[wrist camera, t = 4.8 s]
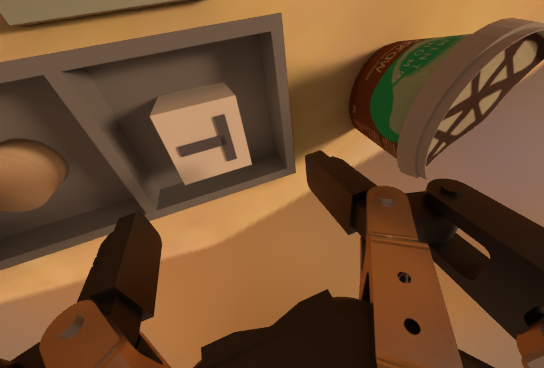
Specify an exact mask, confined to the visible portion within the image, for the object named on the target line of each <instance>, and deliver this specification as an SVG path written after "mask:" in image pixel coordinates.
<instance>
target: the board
mask: <svg viewBox="0 0 544 368" xmlns="http://www.w3.org/2000/svg"><path fill="white" fill-rule="evenodd" d="M183 1H189V0H0V13H1V15H2V16H3V17H4V19H5V20H6V21H7V23H8V24H9V25H10V26H26V25H33V24H39V23H46V22H52V21H59V20H65V19H72V18H78V17H85V16H91V15H98V14H105V13H111V12H118V11H124V10H131V9H137V8H144V7H150V6H157V5H163V4H170V3H176V2H183Z"/></svg>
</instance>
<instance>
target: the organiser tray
mask: <svg viewBox="0 0 544 368" xmlns="http://www.w3.org/2000/svg"><path fill="white" fill-rule="evenodd" d="M220 82H224V83H225V84H226V85H227V87H228V88H229V89H230V90H231V91H232V92H233V93H234V94H235V96H236V100H237V104H238V108H239V112H240V117H241V121H242V125H243V129H244V133H245V137H246V141H247V146H248V150H249V154H250V158H251V162H252V165H249V166H245V167H242V168H239V169H236V170H232V171H229V172H226V173H223V174H219V175H216V176H213V177H210V178H207V179H203V180H200V181H197V182H194V183H190V184H187V185H185V184H184V182H183V180H182V178H181V176H180V174H179V172H178V171H177V169H176V167H175V165H174V163H173V161H172V159H171V157H170V155H169V153H168V151H167V149H166V147H165V145H164V143H163V141H162V139H161V137H160V136H159V134H158V132H157V130H156V128H155V126H154V124H153V122H152V120H151V118H150V114H151V112H152V109H153V107H154V105H155V102H156V100H157V98H158V97H159V96H163V95H168V94H172V93H176V92H181V91H185V90H189V89H194V88H198V87H202V86H207V85H211V84H216V83H220ZM17 138H18V139H29V140H34V141H38V142H40V143H43V144H45V145H48V146H50V147H51V148H53V149H55V150H56V151H57V152H59V153H60V154H61V155H62V156H63V157H64V159H65V160H66V162H67V164H68V167H69V172H68V176H67V177H66V179H65V180H64V181H63V182H62V184H61V185H60V186H59V187H58V188H57V190H56V191H55V192H54V193H53V194H52V196H51V197H50V198H49V199H48V200H47V202H46V203H45V204H43V205H42V206H40V207H38V208H36V209H33V210H29V211H22V212H9V211H1V210H0V270H3V269H6V268H9V267H12V266H15V265H18V264H21V263H24V262H27V261H30V260H33V259H36V258H39V257H42V256H45V255H48V254H51V253H54V252H57V251H60V250H63V249H66V248H69V247H72V246H76V245H79V244H82V243H85V242H88V241H91V240H94V239H97V238H100V237H103V236H106V235H109V234H110V233H111V232H113V231H114V229H115V226H116V223H117V221H118V219H119V218H120V217H123V216H125V215H128V214H131V213H134V212H137V211H140V212H142V213H143V214H144V216H145V217H146V218H147V219H148V221H151V220H154V219H157V218H160V217H163V216H166V215H169V214H172V213H175V212H178V211H181V210H184V209H187V208H191V207H194V206H197V205H200V204H203V203H206V202H209V201H212V200H215V199H218V198H221V197H224V196H227V195H230V194H233V193H236V192H239V191H242V190H245V189H248V188H251V187H254V186H257V185H260V184H263V183H266V182H269V181H272V180H275V179H278V178H281V177H284V176H287V175H290V174H293V173H296V169H295V158H294V146H293V135H292V124H291V113H290V102H289V91H288V80H287V69H286V57H285V46H284V35H283V24H282V13H276V14H271V15H265V16H260V17H254V18H248V19H243V20H237V21H231V22H226V23H220V24H214V25H209V26H203V27H198V28H192V29H186V30H181V31H175V32H169V33H164V34H158V35H152V36H147V37H141V38H135V39H130V40H124V41H119V42H113V43H107V44H102V45H96V46H90V47H85V48H79V49H73V50H68V51H62V52H57V53H51V54H45V55H40V56H34V57H28V58H23V59H17V60H11V61H6V62H0V142H2V141H5V140H8V139H17Z"/></svg>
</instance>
